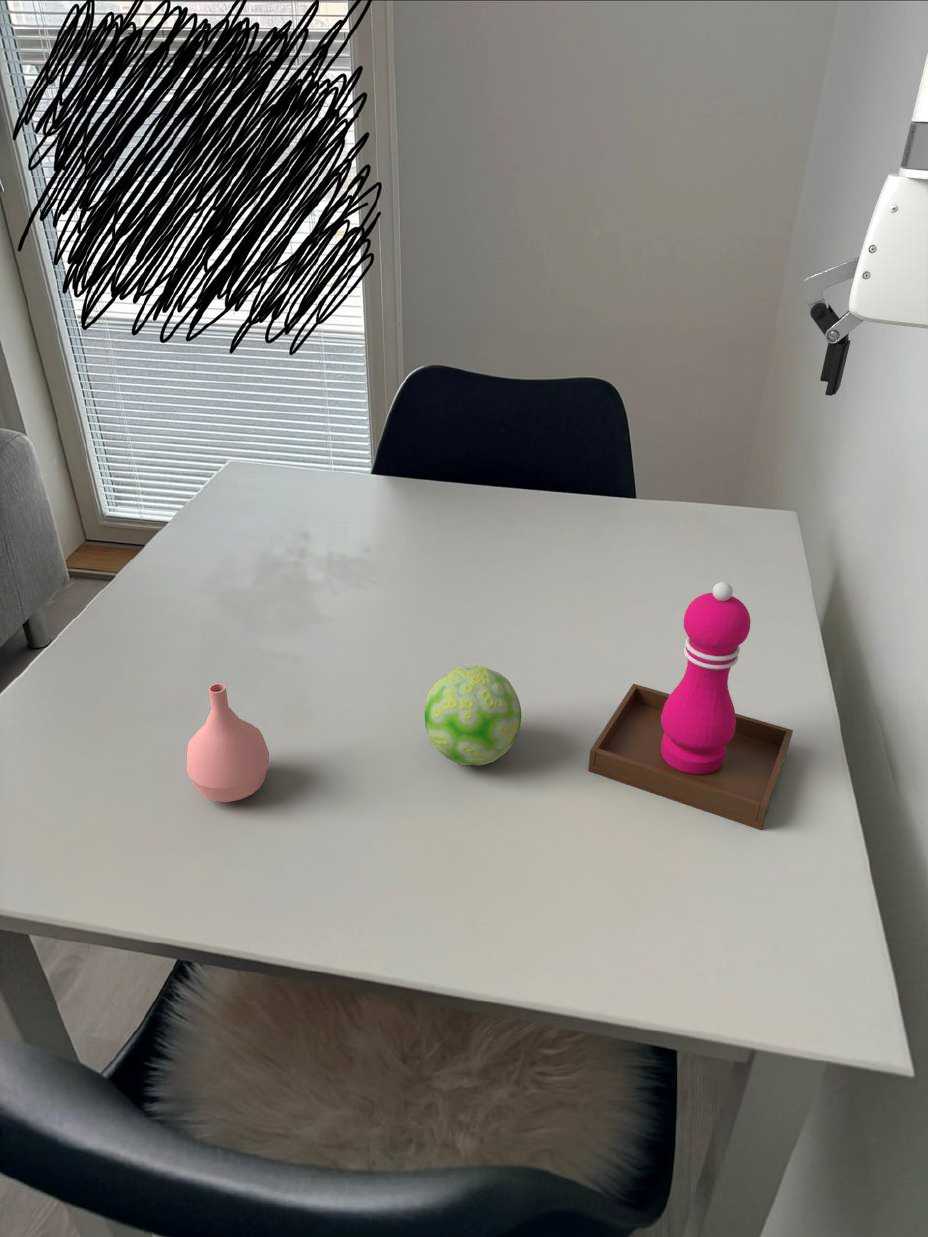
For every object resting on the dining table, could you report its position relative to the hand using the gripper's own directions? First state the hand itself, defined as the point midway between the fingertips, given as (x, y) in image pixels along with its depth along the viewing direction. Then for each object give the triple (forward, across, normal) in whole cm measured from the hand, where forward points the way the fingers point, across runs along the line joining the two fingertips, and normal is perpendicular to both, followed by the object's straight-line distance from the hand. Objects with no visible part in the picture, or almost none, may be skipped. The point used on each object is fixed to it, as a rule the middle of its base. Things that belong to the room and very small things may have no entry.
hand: (896, 400), depth 69 cm
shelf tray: (+38, +10, +3) cm, 40 cm away
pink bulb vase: (+38, +48, +29) cm, 68 cm away
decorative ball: (+38, +30, +13) cm, 51 cm away
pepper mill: (+38, +10, +3) cm, 39 cm away
